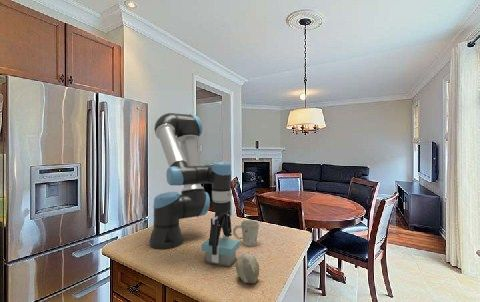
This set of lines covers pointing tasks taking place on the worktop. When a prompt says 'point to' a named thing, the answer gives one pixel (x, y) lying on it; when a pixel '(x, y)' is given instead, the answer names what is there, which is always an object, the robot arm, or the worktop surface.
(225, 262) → the box
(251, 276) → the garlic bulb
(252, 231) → the mug
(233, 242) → the lid
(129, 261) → the worktop surface
